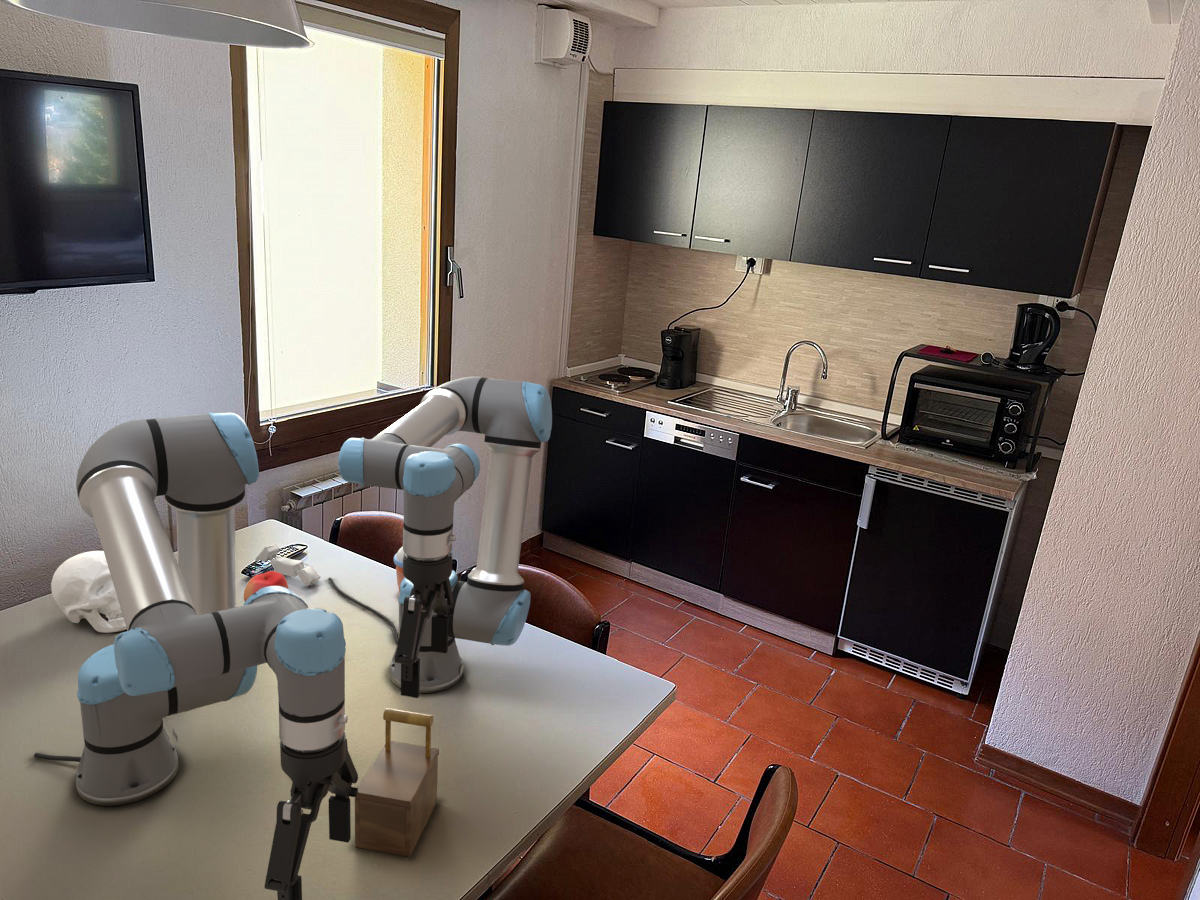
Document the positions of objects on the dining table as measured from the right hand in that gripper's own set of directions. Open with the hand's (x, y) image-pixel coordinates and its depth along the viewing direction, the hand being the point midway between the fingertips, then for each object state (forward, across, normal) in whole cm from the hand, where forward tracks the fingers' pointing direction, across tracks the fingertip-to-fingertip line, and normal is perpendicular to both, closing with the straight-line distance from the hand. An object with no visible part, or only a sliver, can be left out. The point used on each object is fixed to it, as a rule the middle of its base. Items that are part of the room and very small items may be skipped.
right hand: (425, 672), depth 138 cm
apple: (+25, +51, +57) cm, 80 cm away
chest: (+25, -6, +2) cm, 26 cm away
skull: (+25, +38, +89) cm, 100 cm away
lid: (+16, -6, +2) cm, 17 cm away
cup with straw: (+25, +70, +28) cm, 79 cm away
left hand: (+10, -34, +2) cm, 36 cm away
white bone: (+25, +71, +62) cm, 97 cm away
